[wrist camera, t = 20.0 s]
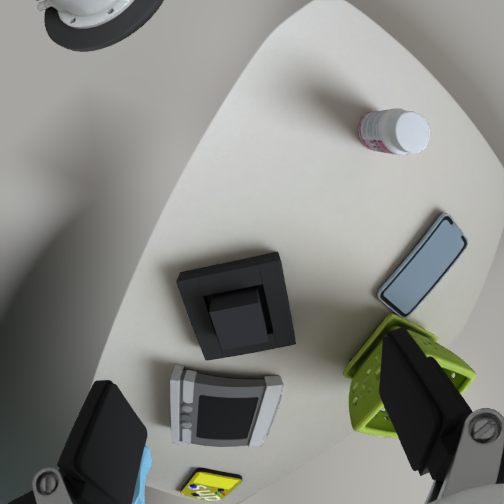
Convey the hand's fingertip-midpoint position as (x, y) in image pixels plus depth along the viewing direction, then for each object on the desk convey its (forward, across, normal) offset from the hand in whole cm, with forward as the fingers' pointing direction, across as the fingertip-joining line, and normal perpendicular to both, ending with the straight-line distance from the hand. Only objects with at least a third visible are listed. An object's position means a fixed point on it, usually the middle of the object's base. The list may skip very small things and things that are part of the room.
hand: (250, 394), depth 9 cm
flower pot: (+26, -17, +25) cm, 40 cm away
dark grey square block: (+25, +3, +12) cm, 28 cm away
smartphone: (+26, -23, +12) cm, 37 cm away
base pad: (+26, +3, +12) cm, 29 cm away
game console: (+26, +23, +61) cm, 70 cm away
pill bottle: (+26, -17, -6) cm, 32 cm away
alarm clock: (+26, +10, +30) cm, 42 cm away
